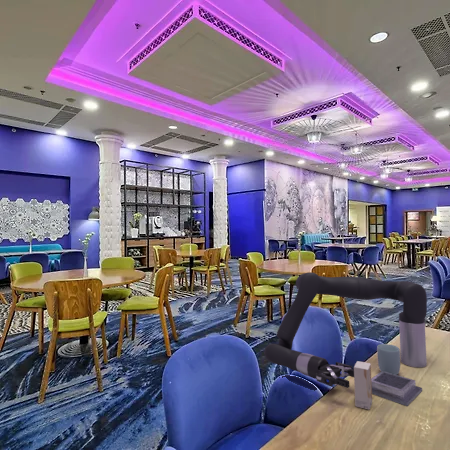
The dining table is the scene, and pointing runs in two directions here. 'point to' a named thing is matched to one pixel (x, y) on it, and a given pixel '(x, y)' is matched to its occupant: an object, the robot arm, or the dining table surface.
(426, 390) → the dining table surface
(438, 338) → the dining table surface
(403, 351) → the robot arm
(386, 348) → the cup
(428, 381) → the dining table surface
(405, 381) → the tray
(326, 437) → the dining table surface
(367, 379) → the skincare box
